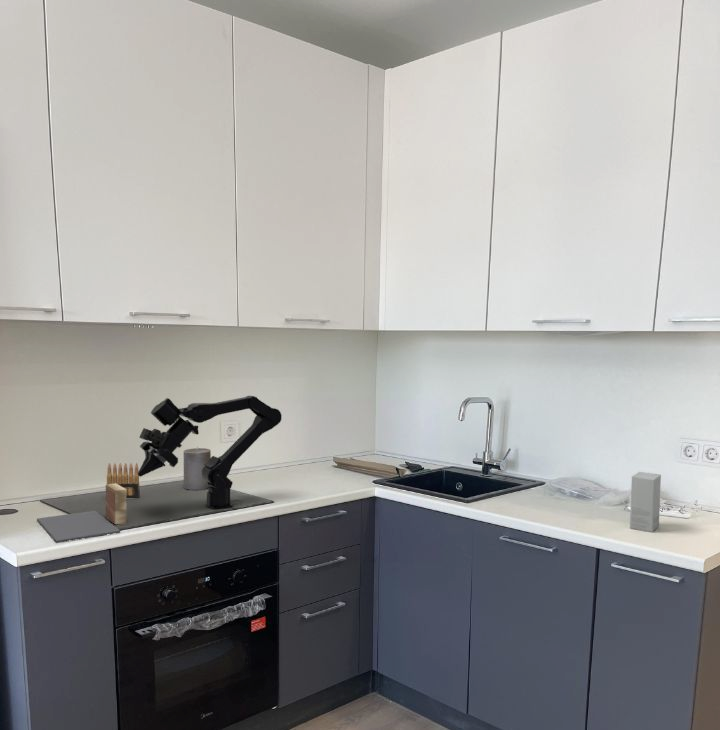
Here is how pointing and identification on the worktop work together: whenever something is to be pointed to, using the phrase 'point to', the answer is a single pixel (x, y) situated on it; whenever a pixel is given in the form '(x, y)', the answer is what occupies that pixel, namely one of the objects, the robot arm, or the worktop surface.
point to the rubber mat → (77, 526)
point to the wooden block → (116, 503)
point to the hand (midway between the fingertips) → (138, 475)
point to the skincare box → (645, 501)
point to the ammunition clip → (125, 479)
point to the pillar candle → (195, 468)
